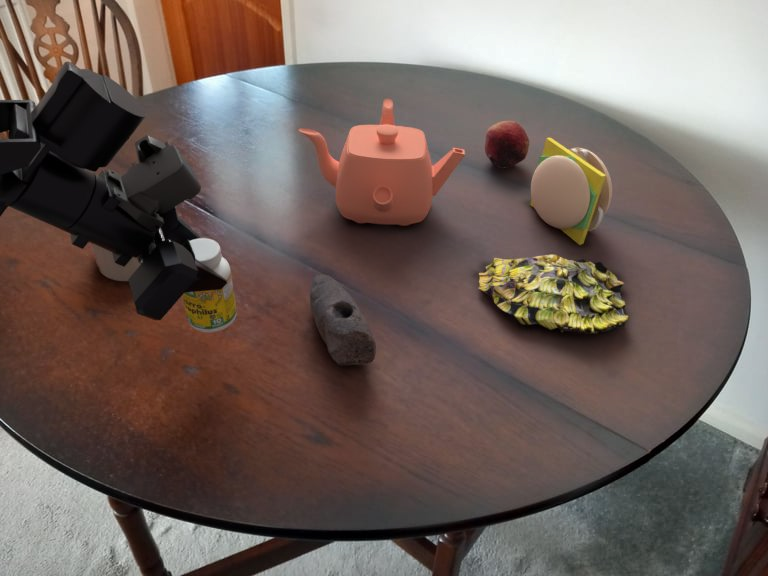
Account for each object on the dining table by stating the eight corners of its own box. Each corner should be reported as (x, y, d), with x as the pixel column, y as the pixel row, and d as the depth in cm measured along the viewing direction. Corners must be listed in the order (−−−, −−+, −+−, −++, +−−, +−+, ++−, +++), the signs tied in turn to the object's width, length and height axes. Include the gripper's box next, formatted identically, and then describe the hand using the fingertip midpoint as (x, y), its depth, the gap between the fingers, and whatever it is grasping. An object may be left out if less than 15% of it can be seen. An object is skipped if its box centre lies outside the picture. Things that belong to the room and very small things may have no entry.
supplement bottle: (244, 306, 71) (235, 238, 64) (225, 338, 67) (214, 270, 60) (199, 297, 71) (187, 230, 65) (178, 329, 67) (163, 260, 61)
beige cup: (95, 285, 82) (84, 252, 78) (101, 243, 89) (91, 211, 85) (167, 276, 84) (160, 244, 80) (168, 236, 90) (161, 205, 87)
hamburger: (609, 235, 96) (633, 167, 88) (568, 248, 93) (589, 179, 85) (558, 196, 104) (576, 130, 96) (519, 207, 101) (534, 141, 93)
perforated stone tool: (299, 302, 81) (297, 260, 77) (337, 293, 83) (337, 252, 78) (336, 385, 71) (335, 343, 67) (378, 373, 73) (381, 332, 68)
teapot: (301, 203, 99) (297, 123, 90) (384, 166, 109) (388, 90, 100) (379, 258, 89) (384, 174, 80) (462, 211, 99) (475, 132, 90)
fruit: (523, 156, 114) (532, 116, 108) (526, 178, 108) (535, 136, 103) (480, 152, 114) (487, 112, 109) (481, 174, 108) (489, 132, 103)
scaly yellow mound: (465, 324, 81) (467, 278, 78) (486, 277, 95) (488, 237, 92) (628, 345, 75) (636, 296, 72) (624, 292, 89) (631, 249, 87)
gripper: (151, 186, 46) (296, 266, 57) (116, 87, 59) (241, 169, 70) (66, 291, 49) (222, 348, 60) (49, 174, 61) (181, 240, 72)
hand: (217, 269), depth 65 cm, fingers closed on supplement bottle, 5 cm apart
